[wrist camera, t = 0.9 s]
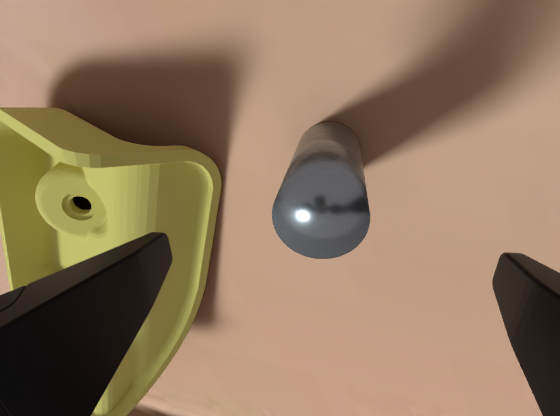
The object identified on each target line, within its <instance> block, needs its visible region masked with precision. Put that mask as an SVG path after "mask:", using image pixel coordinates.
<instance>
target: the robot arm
mask: <svg viewBox="0 0 560 416" xmlns="http://www.w3.org/2000/svg"><path fill="white" fill-rule="evenodd" d="M172 260H173V256H172V251H171V247H170V243H169V238H168V236H167V234H166V233H163V232H151V233H148V234H146V235H144V236H141V237H139V238H136V239H134V240H132V241H129V242H127V243H124V244H122V245H120V246H117V247H115V248H113V249H110V250H108V251H105V252H103V253H101V254H98V255H96V256H93V257H91V258H89V259H86V260H84V261H81V262H79V263H77V264H74V265H72V266H69V267H67V268H65V269H62V270H60V271H58V272H55V273H53V274H50V275H48V276H46V277H43V278H41V279H38V280H36V281H34V282H31V283H29V284H27V286H22V287H19V288H17V289H14V290H12V291H10V292H7V293H5V294H2V295H0V416H91V415H92V413H93V411H94V410H95V408H96V406H97V404H98V402H99V401H100V399H101V397H102V395H103V394H104V392H105V390H106V388H107V387H108V385H109V383H110V381H111V380H112V378H113V376H114V374H115V373H116V371H117V369H118V367H119V366H120V364H121V362H122V360H123V359H124V357H125V355H126V353H127V352H128V350H129V348H130V346H131V344H132V343H133V341H134V339H135V337H136V336H137V334H138V332H139V330H140V329H141V327H142V325H143V323H144V322H145V320H146V318H147V316H148V315H149V313H150V311H151V309H152V307H153V305H154V303H155V301H156V299H157V296H158V294H159V292H160V290H161V287H162V285H163V283H164V280H165V278H166V276H167V273H168V271H169V269H170V267H171V264H172ZM492 283H493V290H494V293H495V296H496V299H497V302H498V306H499V309H500V312H501V315H502V318H503V321H504V325H505V328H506V331H507V334H508V337H509V340H510V343H511V345H512V348H513V350H514V352H515V355H516V357H517V359H518V361H519V364H520V366H521V368H522V370H523V372H524V375H525V377H526V379H527V381H528V384H529V386H530V388H531V390H532V393H533V395H534V397H535V399H536V401H537V404H538V406H539V408H540V410H541V413H542V415H543V416H560V273H559V272H557V271H555V270H553V269H551V268H549V267H547V266H545V265H543V264H541V263H539V262H537V261H536V260H534V259H532V258H530V257H528V256H526V255H524V254H521V253H503V254H501V256H500V258H499V261H498V264H497V267H496V270H495V273H494V277H493V282H492Z"/></svg>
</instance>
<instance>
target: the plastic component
mask: <svg viewBox="0 0 560 416" xmlns="http://www.w3.org/2000/svg"><path fill="white" fill-rule="evenodd" d="M221 186H222V183H221V176H220V172H219V170H218V168H217V166H216V164H215V163H214V162H213V161H212V160H211V159H210V157H208V156H206V155H204V154H203V153H201V152H199V151H197V150H195V149H192V148H190V147H186V146H181V145H178V146H149V145H140V144H135V143H130V142H126V141H123V140H120V139H118V138H115V137H113V136H112V135H110V134H108V133H106V132H104V131H102V130H101V129H99V128H97V127H95V126H93V125H92V124H90V123H88V122H86V121H84V120H82V119H81V118H79V117H77V116H75V115H73V114H71V113H70V112H68V111H66V110H63V109H60V108H0V230H1V236H2V243H3V249H4V255H5V261H6V268H7V274H8V280H9V286H10V291H12V290H14V289H17V288H19V287H22V286H27V284H29V283H31V282H34V281H36V280H38V279H41V278H43V277H46V276H48V275H50V274H53V273H55V272H58V271H60V270H62V269H65V268H67V267H69V266H72V265H74V264H77V263H79V262H81V261H84V260H86V259H89V258H91V257H93V256H96V255H98V254H101V253H103V252H105V251H108V250H110V249H113V248H115V247H117V246H120V245H122V244H124V243H127V242H129V241H132V240H134V239H136V238H139V237H141V236H144V235H146V234H148V233H151V232H163V233H166V234H167V236H168V238H169V243H170V247H171V251H172V256H173V260H172V264H171V267H170V269H169V271H168V273H167V276H166V278H165V280H164V283H163V285H162V287H161V290H160V292H159V294H158V296H157V299H156V301H155V303H154V305H153V307H152V309H151V311H150V313H149V315H148V316H147V318H146V320H145V322H144V323H143V325H142V327H141V329H140V330H139V332H138V334H137V336H136V337H135V339H134V341H133V343H132V344H131V346H130V348H129V350H128V352H127V353H126V355H125V357H124V359H123V360H122V362H121V364H120V366H119V367H118V369H117V371H116V373H115V374H114V376H113V378H112V380H111V381H110V383H109V385H108V387H107V388H106V390H105V392H104V394H103V395H102V397H101V399H100V401H99V402H98V404H97V406H96V408H95V410H94V411H93V413H92V415H91V416H126V415H127V414H128V413H129V412H130V411H131V410H132V409H133V408H134V407H135V406H136V405H137V404H138V402H139V401H140V400H141V399H142V398H143V397H144V396H145V394H146V393H147V392H148V391H149V389H150V388H151V387H152V386H153V384H154V383H155V382H156V381H157V379H158V378H159V377H160V375H161V374H162V373H163V371H164V370H165V369H166V367H167V366H168V364H169V363H170V361H171V360H172V358H173V357H174V355H175V354H176V352H177V351H178V349H179V347H180V346H181V344H182V342H183V340H184V339H185V337H186V335H187V333H188V332H189V329H190V327H191V325H192V323H193V321H194V318H195V316H196V314H197V311H198V308H199V306H200V303H201V300H202V296H203V293H204V290H205V286H206V280H207V274H208V268H209V261H210V255H211V249H212V243H213V236H214V230H215V224H216V217H217V211H218V205H219V199H220V192H221ZM76 196H81V197H84V198H86V199H88V201H89V202H90V203H91V209H89V210H82V209H80V208H78V207H77V206H75V205H74V202H73V197H76Z"/></svg>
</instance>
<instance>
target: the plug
mask: <svg viewBox="0 0 560 416" xmlns="http://www.w3.org/2000/svg"><path fill="white" fill-rule="evenodd" d="M272 220H273V225H274V228H275V230H276V233H277V234H278V236H279V237H280V239H281V240H282V241H283V242H284V243H285V244H286V245H287V246H288V247H289V248H290V249H292V250H293V251H295V252H297V253H299V254H301V255H304V256H307V257H311V258H317V259H329V258H335V257H339V256H342V255H344V254H346V253H348V252H350V251H352V250H353V249H354V248H356V247H357V246H358V245H359V244H360V243H361V242H362V240H363V239H364V237H365V236H366V234H367V231H368V228H369V224H370V212H369V205H368V198H367V191H366V184H365V177H364V170H363V164H362V157H361V150H360V144H359V141H358V139H357V137H356V135H355V134H354V133H353V131H352V130H350V129H349V128H348V127H346V126H345V125H343V124H340V123H336V122H323V123H319V124H316V125H314V126H312V127H311V128H309V129H308V130H307V131H306V132H305V133H304V135H303V136H302V138H301V140H300V142H299V144H298V147H297V149H296V151H295V154H294V156H293V158H292V161H291V163H290V166H289V168H288V170H287V173H286V175H285V177H284V180H283V182H282V185H281V187H280V189H279V192H278V194H277V196H276V199H275V201H274V205H273V209H272Z"/></svg>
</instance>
